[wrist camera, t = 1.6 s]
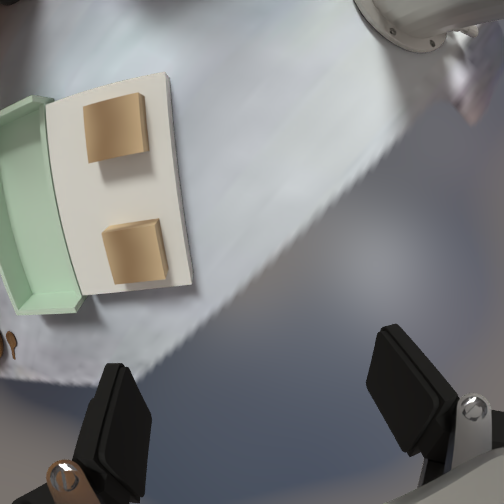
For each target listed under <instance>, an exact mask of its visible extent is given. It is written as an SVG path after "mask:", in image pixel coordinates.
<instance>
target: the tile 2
mask: <svg viewBox="0 0 504 504" xmlns="http://www.w3.org/2000/svg"><path fill="white" fill-rule="evenodd" d="M101 234H102V239H103V243H104V247H105V251H106V255H107V259H108V262H109V266H110V270H111V273H112V277H113V280H114V284H115V285H116V284H126V283H135V282H145V281H154V280H163V279H166V276H167V273H168V269H169V268H168V263H167V258H166V253H165V248H164V242H163V237H162V231H161V226H160V220H159V218H157V219H150V220H143V221H136V222H130V223H123V224H117V225H111V226H108V227H107V228H106V229H105V230H104V231H103V232H102V233H101Z"/></svg>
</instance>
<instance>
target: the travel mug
mask: <svg viewBox="0 0 504 504" xmlns="http://www.w3.org/2000/svg"><path fill="white" fill-rule="evenodd" d="M17 1H19V0H0V4H3V5H11V4H13V3H15V2H17Z"/></svg>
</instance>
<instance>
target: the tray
mask: <svg viewBox="0 0 504 504" xmlns="http://www.w3.org/2000/svg"><path fill="white" fill-rule="evenodd" d="M52 102H54V99H53V98H47V97H41V96H35V95H31V96H29V97H27V98H25V99H23V100H20V101H18V102H16V103H14V104H12V105H10V106H8V107H6V108H4V109H3V110H1V111H0V274H1V277H2V280H3V282H4V285H5V288H6V290H7V293H8V295H9V298H10V300H11V303H12V305H13V307H14V310H15V312H16V314H17V315H42V314H64V313H77V311H78V310H79V308H80V307H81V305H82V304H83V302H84V301H85V299H86V298H87V296H88V295H83V294H82V292H81V289H80V286H79V283H78V280H77V277H76V273H75V270H74V267H73V264H72V260H71V257H70V253H69V250H68V246H67V242H66V238H65V234H64V230H63V226H62V222H61V217H60V213H59V208H58V203H57V198H56V193H55V187H54V181H53V175H52V169H51V161H50V153H49V145H48V134H47V121H46V105H47V104H50V103H52Z"/></svg>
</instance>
